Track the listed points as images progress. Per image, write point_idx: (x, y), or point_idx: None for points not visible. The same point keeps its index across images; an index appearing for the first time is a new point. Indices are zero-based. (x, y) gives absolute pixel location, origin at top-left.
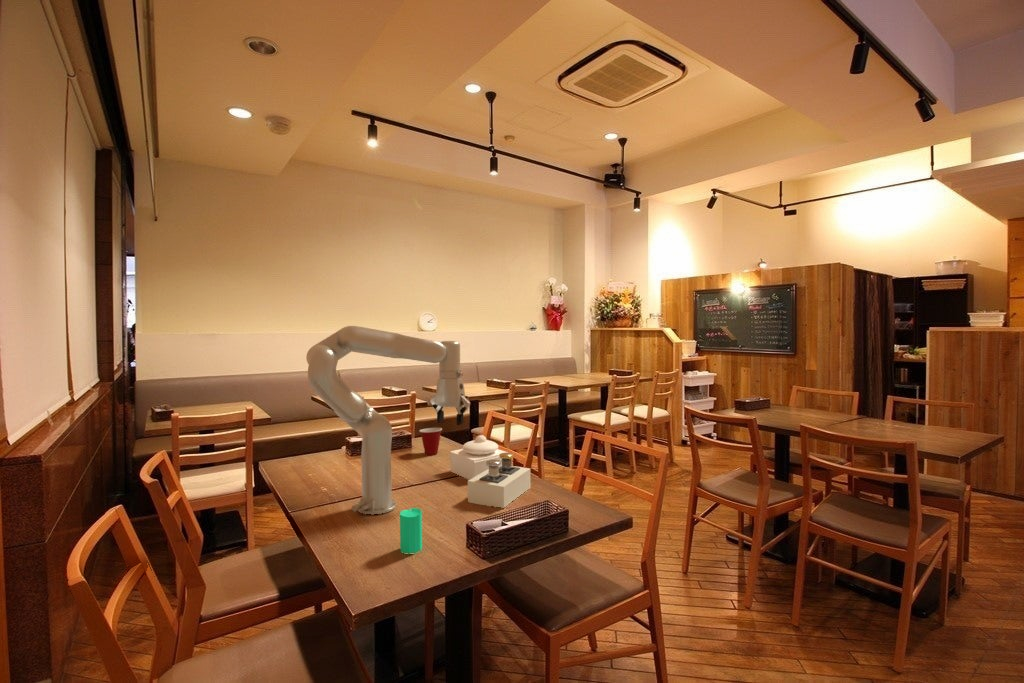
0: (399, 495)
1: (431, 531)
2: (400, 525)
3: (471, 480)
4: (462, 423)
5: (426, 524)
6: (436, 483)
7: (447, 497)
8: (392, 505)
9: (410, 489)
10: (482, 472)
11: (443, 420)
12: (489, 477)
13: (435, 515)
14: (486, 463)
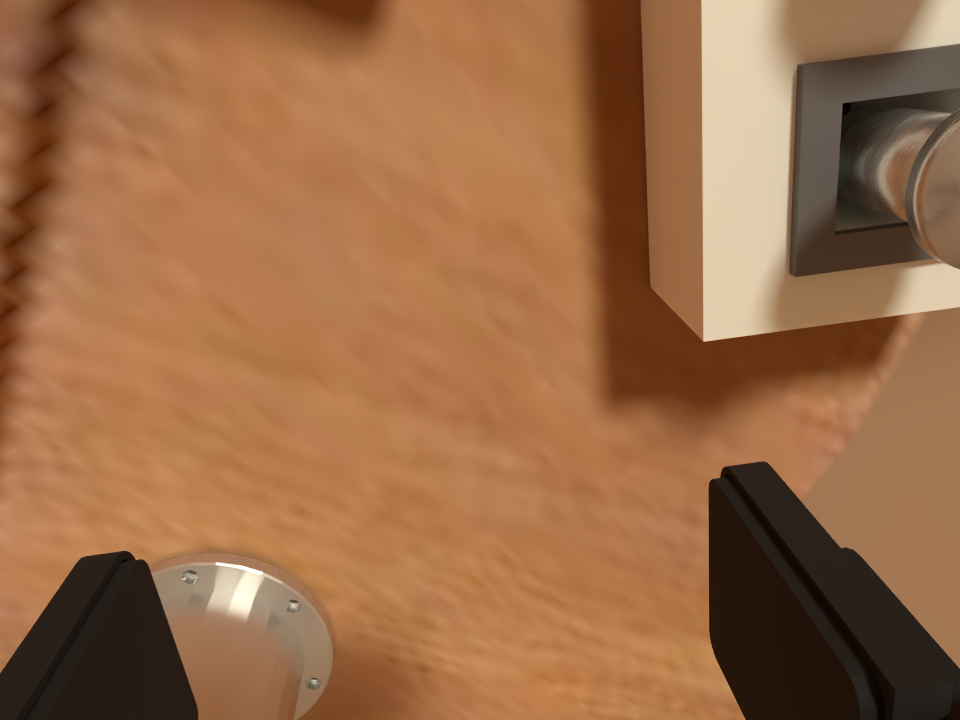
0: (141, 447)
1: (698, 669)
2: None
3: (728, 317)
4: (762, 477)
5: (625, 634)
6: (138, 88)
7: (461, 293)
8: (306, 622)
9: (92, 321)
10: (702, 57)
11: (133, 587)
12: (878, 211)
13: (593, 540)
14: (934, 253)
